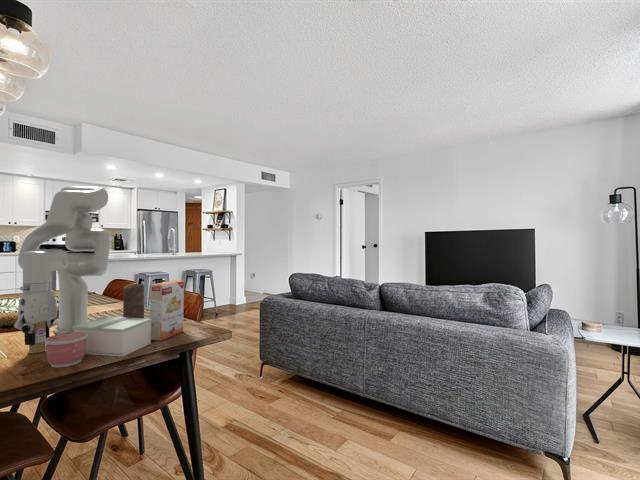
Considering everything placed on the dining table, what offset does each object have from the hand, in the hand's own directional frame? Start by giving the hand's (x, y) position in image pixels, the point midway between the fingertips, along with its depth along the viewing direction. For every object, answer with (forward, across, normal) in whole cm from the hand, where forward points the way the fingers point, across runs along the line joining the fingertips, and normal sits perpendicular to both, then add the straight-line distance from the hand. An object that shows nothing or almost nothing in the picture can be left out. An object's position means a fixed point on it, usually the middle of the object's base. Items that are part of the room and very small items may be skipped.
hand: (37, 341), depth 115 cm
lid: (-5, +8, -22) cm, 24 cm away
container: (+4, -7, -18) cm, 20 cm away
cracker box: (+4, +25, -31) cm, 40 cm away
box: (+3, +8, -22) cm, 24 cm away
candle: (+4, +23, -18) cm, 29 cm away
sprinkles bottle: (+3, 0, 0) cm, 3 cm away
